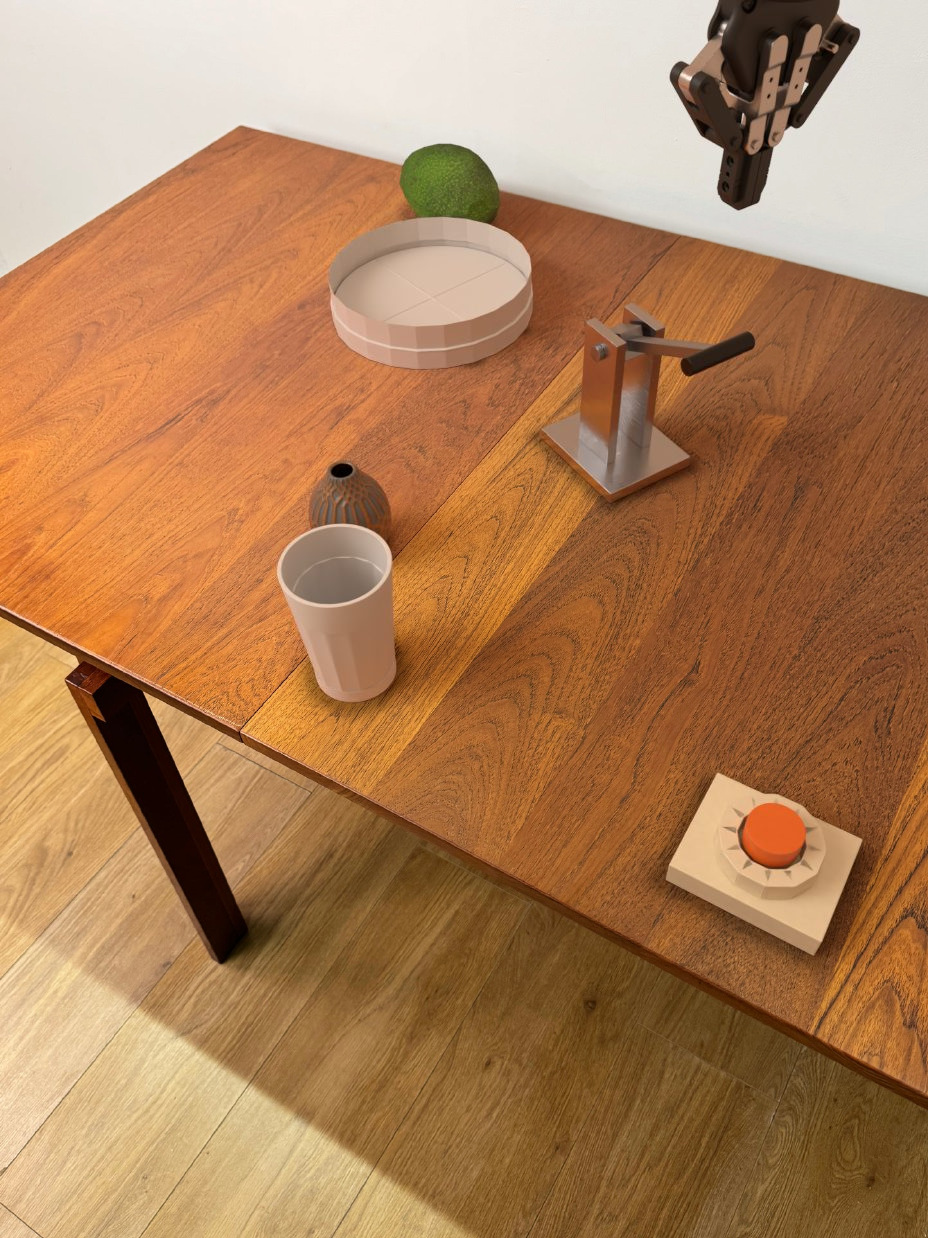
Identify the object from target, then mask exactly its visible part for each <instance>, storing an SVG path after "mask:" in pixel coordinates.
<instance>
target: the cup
mask: <svg viewBox="0 0 928 1238" xmlns="http://www.w3.org/2000/svg"><path fill="white" fill-rule="evenodd" d="M276 574H277V580H278V582H279V585H280V588H281V590H282V592H283V595H284V597H285V599H286V603H287V605H288V608H289V610H290V612H291V614H292V616H293V619H294V622H295V624H296V628H297V630H298V632H299V635H300V637H301V640H302V642H303V645H304V648H305V651H306V652H307V655H308V658H309V660H310V663H311V666H312V668H313V671H314V674H315V679H316V682H317V684H318V687H319V688H320V689H321V690H322V692H323V693H324V694H326V695H327V696H329V697H330V698H332V699H333V700H336V701H338V702H339V701H340V702H344V703H360V702H361V703H362V702H365V701H368V700H371V699H374V698H376V697H377V696H379V695H381V694H382V693H383V692H385V691H386V690H387V689H388V688H389V687H390V686H391V685H392V683H393V681H394V679H395V677H396V674H397V659H396V651H395V647H396V646H395V621H394V619H395V618H394V588H393V587H394V586H393V585H394V584H393V583H394V582H393V580H394V579H393V576H394V575H393V555H392V551H391V549H390V546H389V545H388V543H387V541H386V542H385V541H384V539H383V538H382V537H380V536H379V535H378V534H377V533H375V532H373V531H371V530H369V529H367V528H365V527H361V526H357V525H352V524H331V525H325V526H321V527H318V528H315V529H312V530H311V529H309V530H307V531H305V532H304V533H302V534H300V535H298V536H297V537H296V538H294V539H293V540H292V541H291V542H290V543H289V544H288V545H287V546H286V547H285V549H284V550H283V551H282V553H281V554H280V556H279V559H278V562H277V567H276Z"/></svg>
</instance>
